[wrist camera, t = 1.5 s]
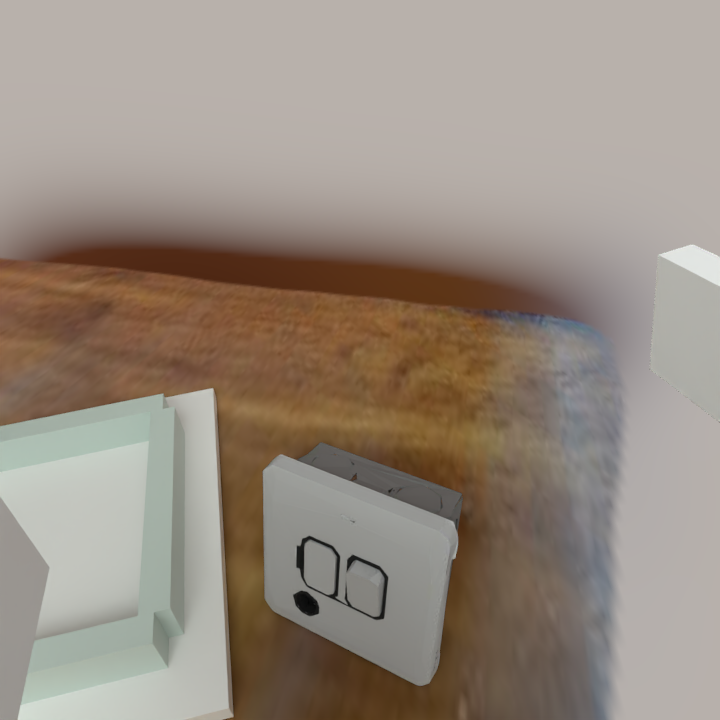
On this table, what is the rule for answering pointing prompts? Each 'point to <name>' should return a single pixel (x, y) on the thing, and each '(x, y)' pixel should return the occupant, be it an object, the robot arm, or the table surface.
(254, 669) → the table surface
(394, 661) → the electrical switch
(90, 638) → the pocket tray
